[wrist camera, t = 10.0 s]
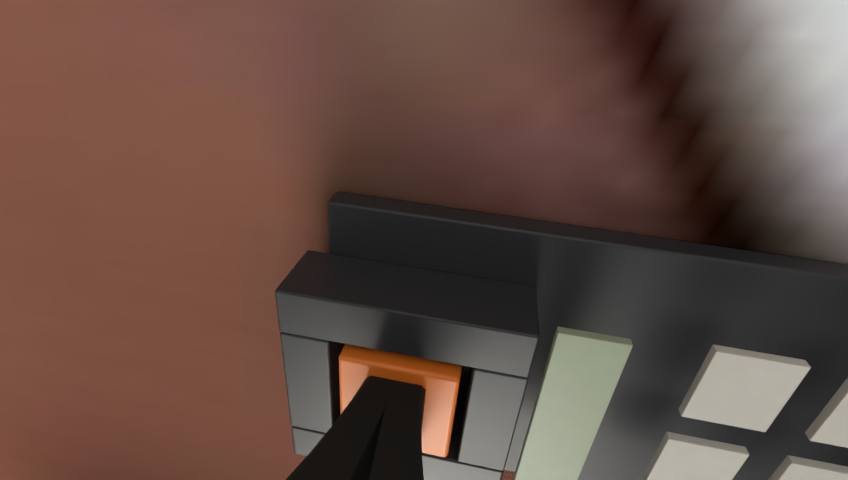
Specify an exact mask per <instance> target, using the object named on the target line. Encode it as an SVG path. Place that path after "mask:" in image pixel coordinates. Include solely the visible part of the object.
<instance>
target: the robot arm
mask: <svg viewBox="0 0 848 480" xmlns="http://www.w3.org/2000/svg"><path fill="white" fill-rule="evenodd" d="M425 394H426V390H425V389H424V387H423V386H422V385H417V384H412V383H406V382H401V381H396V380H391V379H386V378H381V377H375V376H369V377H367V378H366V379H365V380H364V382H363V384H362V385H361V387H360V388H359V390H358V391H357V393H356V394H355V396H354V397H353V398H352V400H351V401H350V403H349V404H348V405H347V407H346V408H345V409H344V411H343V412H342V413H341V415H340V416H339V417H338V419H337V420H336V421H335V423H334V424H333V425H332V426H331V428H330V429H329V430H328V431H327V433H326V434H325V435H324V436H323V437H322V439H321V440H320V441H319V442H318V444H317V445H316V446H315V447H314V448H313V450H312V451H311V452H310V453H309V454H308V456H307V457H306V458H305V459H304V460H303V461H302V462H301V463H300V465H299V466H298V467H297V468H296V469H295V470H294V471H293V472H292V473H291V474H290V476H289V477H288V478H287V479H286V480H424V475H423V461H422V422H423V413H424V403H425Z"/></svg>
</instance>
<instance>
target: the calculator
mask: <svg viewBox="0 0 848 480" xmlns="http://www.w3.org/2000/svg"><path fill="white" fill-rule="evenodd" d="M328 224H329V248H330V254H329V253H322V252H316V251H310V250H309V251H307V252H306V253H305V254H304V256H303V257H302V258H301V259H300V261H299V262H298V263H297V264H296V265H295V267H294V268H293V269H292V270H291V272H290V273H289V274H288V275H287V277H286V278H285V279H284V280H283V281H282V283H281V284H280V285H279V286H278V288H277V289H276V290H275V295H276V304H277V312H278V321H279V329H280V331H281V333H280V336H281V345H282V353H283V361H284V370H285V378H286V387H287V395H288V403H289V412H290V420H291V425H292V435H293V443H294V452H295V453H296V454H300V455H304V456H308V454H309V453H310V452H311V451H312V450H313V448H314V447H315V446H316V445H317V444H318V442H319V441H320V440H321V439H322V437H323V436H324V435H325V434H326V433H327V431H328V430H329V429H330V428H331V426H332V425H333V424H334V423H335V421H336V420H337V419H338V417H339V416H340V415H341V413H340V384H339V355H340V353H341V351H342V349H343V347H344V345H345V344H349V345H354V346H360V347H365V348H370V349H376V350H381V351H386V352H392V353H397V354H403V355H408V356H413V357H419V358H424V359H429V360H435V361H440V362H445V363H451V364H456V365H461V366H462V369H461V376H460V383H459V389H458V396H457V402H456V408H455V414H454V421H453V427H452V433H451V440H450V446H449V452H448V455H447V456H446V457H441V456H436V455H431V454H427V453H422V461H423V475H424V480H501V479H502V476H503V472H504V470H507V471H511V472H515V470H516V467H517V464H518V460H519V457H520V453H521V450H522V446H523V443H524V439H525V436H526V432H527V429H528V426H529V422H530V419H531V415H532V412H533V408H534V405H535V401H536V398H537V394H538V391H539V388H540V384H541V381H542V377H543V374H544V370H545V367H546V363H547V360H548V356H549V353H550V350H551V346H552V343H553V339H554V336H555V332H556V329H557V327H564V328H570V329H575V330H581V331H587V332H593V333H599V334H605V335H611V336H616V337H622V338H628V339H631V341H632V344H633V347H632V349H631V351H630V354H629V356H628V359H627V361H626V363H625V366H624V368H623V371H622V373H621V376H620V378H619V380H618V383H617V385H616V388H615V390H614V393H613V395H612V397H611V400H610V402H609V405H608V407H607V410H606V412H605V414H604V417H603V419H602V422H601V424H600V427H599V429H598V431H597V434H596V436H595V439H594V441H593V443H592V446H591V448H590V451H589V453H588V456H587V458H586V460H585V463H584V465H583V468H582V470H581V473H580V475H579V477H578V480H641V478H642V476H643V475H644V473H645V471H646V469H647V467H648V465H649V463H650V461H651V460H652V458H653V456H654V454H655V452H656V450H657V448H658V446H659V445H660V443H661V441H662V439H663V437H664V435H665V433H666V432H672V433H677V434H682V435H687V436H692V437H697V438H703V439H708V440H713V441H718V442H723V443H728V444H734V445H739V446H744V447H746V449H747V451H748V453H749V456H748V458H747V459H746V461H745V462H744V463H743V465H742V466H741V468H740V469H739V470H738V472H737V473H736V475H735V476H734V478H733V479H732V480H768V479H769V478H770V477H771V476H772V474H773V473H774V472H775V470H776V469H777V468H778V467H779V465H780V464H781V463H782V461H783V460H784V459H785V457H786V456H787V455H790V456H795V457H801V458H806V459H811V460H816V461H821V462H826V463H832V464H837V465H842V466H847V467H848V448H846V447H840V446H835V445H830V444H825V443H819V442H814V441H810V440H809V438H808V437H807V435H806V434H805V432H806V430H807V429H808V428H809V427H810V425H811V424H812V423H813V421H814V420H815V419H816V417H817V416H818V415H819V414H820V412H821V411H822V410H823V408H824V407H825V406H826V405H827V403H828V402H829V401H830V399H831V398H832V397H833V396H834V394H835V393H836V392H837V390H838V389H839V388H840V387H841V385H842V384H843V383H844V381H845V380H846V379H847V378H848V265H846V264H839V263H832V262H825V261H818V260H811V259H804V258H797V257H790V256H783V255H776V254H769V253H762V252H755V251H748V250H741V249H734V248H727V247H720V246H713V245H706V244H699V243H692V242H685V241H678V240H671V239H664V238H657V237H650V236H643V235H636V234H629V233H622V232H615V231H608V230H601V229H594V228H587V227H580V226H573V225H566V224H559V223H552V222H546V221H539V220H532V219H525V218H518V217H511V216H504V215H497V214H490V213H483V212H476V211H469V210H462V209H455V208H448V207H441V206H434V205H427V204H420V203H413V202H406V201H399V200H392V199H385V198H378V197H371V196H364V195H357V194H350V193H343V192H337V193H336V194H335V195H334V196H333V197H332V198H331V199H330V200H329V201H328ZM712 345H720V346H726V347H732V348H737V349H743V350H749V351H755V352H761V353H767V354H773V355H779V356H785V357H791V358H797V359H803V360H806V361H807V363H808V364H809V365H810V366H811V368H810V370H809V371H808V373H807V374H806V376H805V377H804V378H803V380H802V381H801V383H800V384H799V385H798V387H797V388H796V390H795V391H794V393H793V394H792V395H791V397H790V398H789V400H788V401H787V402H786V404H785V405H784V407H783V408H782V410H781V411H780V412H779V414H778V415H777V417H776V418H775V419H774V421H773V422H772V424H771V425H770V427H769V428H768V429H767V431H766V432H761V431H756V430H750V429H745V428H740V427H735V426H729V425H724V424H719V423H713V422H708V421H703V420H698V419H692V418H687V417H682V416H681V414H680V412H679V407H680V405H681V403H682V401H683V399H684V398H685V396H686V394H687V392H688V390H689V388H690V386H691V384H692V383H693V381H694V379H695V377H696V375H697V373H698V371H699V369H700V368H701V366H702V364H703V362H704V360H705V358H706V356H707V354H708V353H709V351H710V349H711V347H712Z"/></svg>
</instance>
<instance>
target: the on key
mask: <svg viewBox="0 0 848 480" xmlns="http://www.w3.org/2000/svg"><path fill="white" fill-rule="evenodd" d="M461 369H462V366H461V365H456V364H451V363H445V362H440V361H435V360H429V359H424V358H419V357H413V356H408V355H403V354H397V353H392V352H386V351H381V350H376V349H370V348H365V347H360V346H354V345H349V344H345V345H344V347H343V349H342V351H341V353H340V355H339V384H340V413H342V412H343V411H344V409H345V408H346V407H347V405H348V404H349V403H350V401H351V400H352V398H353V397H354V396H355V394H356V393H357V391H358V390H359V388H360V387H361V385H362V384H363V382H364V380H365V379H366V378H367V377H369V376H375V377H381V378H386V379H391V380H396V381H401V382H406V383H412V384H417V385H422V386H423V387H424V389H425V390H426V394H425V403H424V413H423V422H422V453H427V454H431V455H436V456H441V457H446V456H447V455H448V452H449V446H450V440H451V433H452V427H453V421H454V414H455V408H456V402H457V396H458V389H459V383H460V376H461Z"/></svg>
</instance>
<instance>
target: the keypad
mask: <svg viewBox="0 0 848 480" xmlns="http://www.w3.org/2000/svg"><path fill="white" fill-rule="evenodd" d="M632 347H633V344H632V341H631V339H628V338H622V337H616V336H611V335H605V334H599V333H593V332H587V331H581V330H575V329H570V328H564V327H557V329H556V332H555V336H554V339H553V343H552V346H551V350H550V353H549V356H548V360H547V363H546V367H545V370H544V374H543V377H542V381H541V384H540V388H539V391H538V394H537V398H536V401H535V405H534V408H533V412H532V415H531V419H530V422H529V426H528V429H527V432H526V436H525V439H524V443H523V446H522V450H521V453H520V457H519V460H518V464H517V467H516V470H515V474H514V477H513V480H578V477H579V475H580V473H581V470H582V468H583V465H584V463H585V460H586V458H587V456H588V453H589V451H590V448H591V446H592V443H593V441H594V439H595V436H596V434H597V431H598V429H599V427H600V424H601V422H602V419H603V417H604V414H605V412H606V410H607V407H608V405H609V402H610V400H611V397H612V395H613V393H614V390H615V388H616V385H617V383H618V380H619V378H620V376H621V373H622V371H623V368H624V366H625V363H626V361H627V359H628V356H629V354H630V351H631V349H632ZM810 368H811V366H810V365H809V364H808V363H807V361H806V360H803V359H797V358H791V357H785V356H779V355H773V354H767V353H761V352H755V351H749V350H743V349H737V348H732V347H726V346H720V345H712V347H711V349H710V351H709V353H708V354H707V356H706V358H705V360H704V362H703V364H702V366H701V368H700V369H699V371H698V373H697V375H696V377H695V379H694V381H693V383H692V384H691V386H690V388H689V390H688V392H687V394H686V396H685V398H684V399H683V401H682V403H681V405H680V407H679V412H680V414H681V416H682V417H687V418H692V419H698V420H703V421H708V422H713V423H719V424H724V425H729V426H735V427H740V428H745V429H750V430H756V431H761V432H766V431H767V429H768V428H769V427H770V425H771V424H772V422H773V421H774V419H775V418H776V417H777V415H778V414H779V412H780V411H781V410H782V408H783V407H784V405H785V404H786V402H787V401H788V400H789V398H790V397H791V395H792V394H793V393H794V391H795V390H796V388H797V387H798V385H799V384H800V383H801V381H802V380H803V378H804V377H805V376H806V374H807V373H808V371H809V370H810ZM805 434H806V435H807V437H808V438H809V440H810V441H814V442H819V443H825V444H830V445H835V446H840V447H846V448H848V378H847V379H846V380H845V381H844V383H843V384H842V385H841V387H840V388H839V389H838V390H837V392H836V393H835V394H834V396H833V397H832V398H831V399H830V401H829V402H828V403H827V405H826V406H825V407H824V408H823V410H822V411H821V412H820V414H819V415H818V416H817V417H816V419H815V420H814V421H813V423H812V424H811V425H810V427H809V428H808V429H807V430H806V432H805ZM748 456H749V453H748V451H747V449H746V447H744V446H739V445H734V444H728V443H723V442H718V441H713V440H708V439H703V438H697V437H692V436H687V435H682V434H677V433H672V432H666V433H665V435H664V437H663V439H662V441H661V443H660V445H659V446H658V448H657V450H656V452H655V454H654V456H653V458H652V460H651V461H650V463H649V465H648V467H647V469H646V471H645V473H644V475H643V476H642V478H641V480H732V479H733V478H734V476H735V475H736V473H737V472H738V470H739V469H740V468H741V466H742V465H743V463H744V462H745V461H746V459H747V458H748ZM768 480H848V467H847V466H842V465H837V464H832V463H826V462H821V461H816V460H811V459H806V458H801V457H795V456H790V455H787V456H786V457H785V459H784V460H783V461H782V463H781V464H780V465H779V467H778V468H777V469H776V470H775V472H774V473H773V474H772V476H771V477H770V478H769V479H768Z"/></svg>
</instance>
